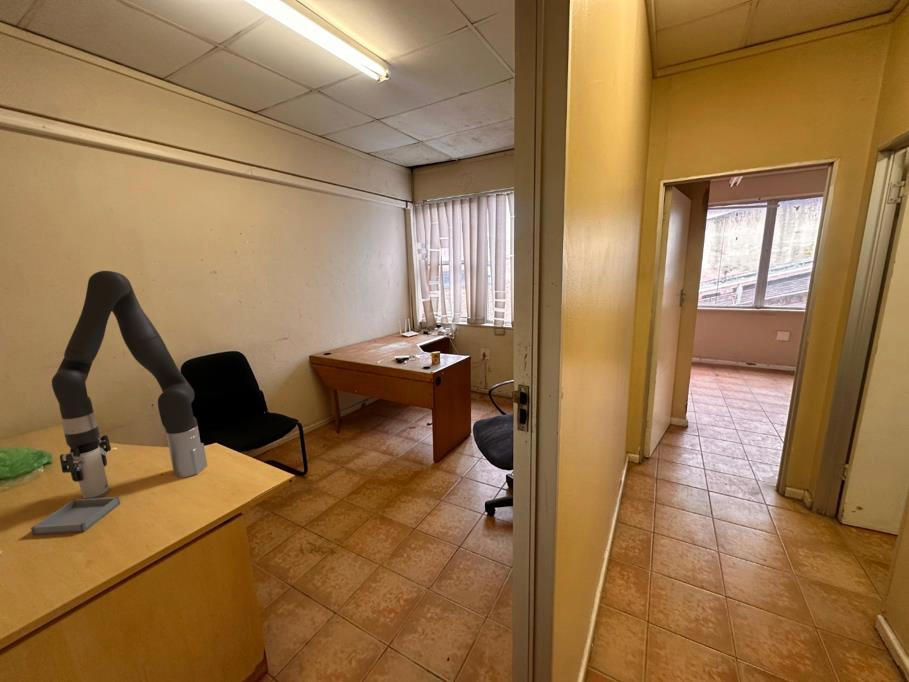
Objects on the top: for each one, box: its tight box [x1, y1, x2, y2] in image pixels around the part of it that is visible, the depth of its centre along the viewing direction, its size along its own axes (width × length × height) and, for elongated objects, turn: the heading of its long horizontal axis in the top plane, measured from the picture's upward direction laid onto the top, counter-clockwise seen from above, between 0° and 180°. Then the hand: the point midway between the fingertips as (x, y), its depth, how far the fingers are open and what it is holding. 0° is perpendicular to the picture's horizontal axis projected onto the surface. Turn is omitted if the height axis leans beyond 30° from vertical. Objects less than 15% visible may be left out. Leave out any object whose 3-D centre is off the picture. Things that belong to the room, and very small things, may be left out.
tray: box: [30, 496, 121, 536], centre depth 106 cm, size 13×12×2 cm
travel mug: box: [73, 440, 110, 499], centre depth 116 cm, size 6×7×20 cm
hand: (91, 473), depth 116 cm, fingers open, 8 cm apart
